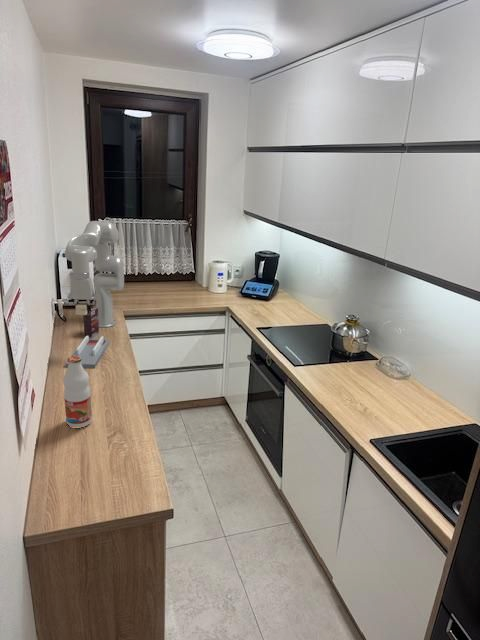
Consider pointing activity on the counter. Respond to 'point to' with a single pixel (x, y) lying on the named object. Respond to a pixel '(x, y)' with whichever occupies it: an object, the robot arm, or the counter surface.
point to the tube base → (91, 351)
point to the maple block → (81, 308)
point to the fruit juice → (77, 394)
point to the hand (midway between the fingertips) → (83, 311)
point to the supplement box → (91, 323)
